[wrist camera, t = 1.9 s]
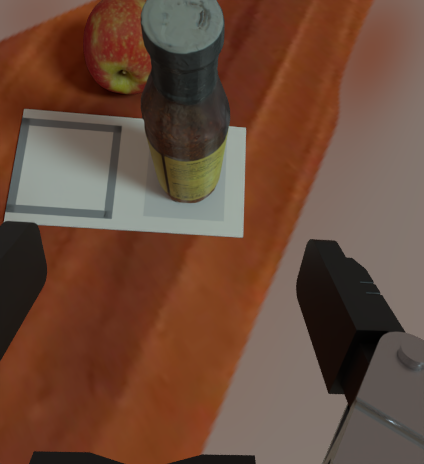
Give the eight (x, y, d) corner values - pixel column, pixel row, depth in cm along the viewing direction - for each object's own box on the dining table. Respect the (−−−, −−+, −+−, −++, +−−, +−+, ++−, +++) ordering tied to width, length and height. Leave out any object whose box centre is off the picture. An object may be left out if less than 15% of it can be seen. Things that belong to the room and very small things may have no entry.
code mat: (4, 222, 33) (3, 222, 33) (25, 109, 36) (24, 108, 36) (242, 237, 35) (243, 237, 35) (245, 128, 38) (246, 127, 37)
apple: (90, 103, 37) (66, 49, 29) (98, 35, 39) (77, -33, 31) (166, 109, 37) (162, 57, 30) (170, 42, 39) (168, -24, 31)
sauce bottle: (230, 172, 36) (285, 17, 17) (193, 218, 35) (208, 106, 16) (179, 135, 37) (178, -58, 17) (141, 180, 35) (93, 24, 16)
